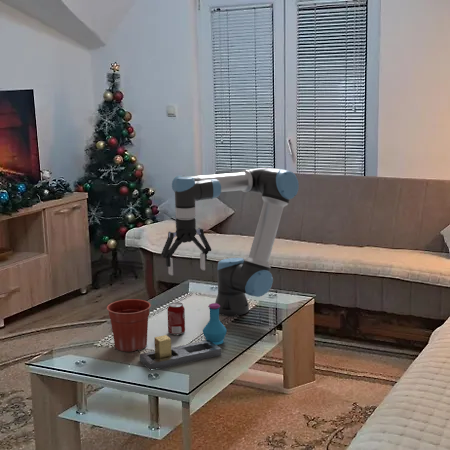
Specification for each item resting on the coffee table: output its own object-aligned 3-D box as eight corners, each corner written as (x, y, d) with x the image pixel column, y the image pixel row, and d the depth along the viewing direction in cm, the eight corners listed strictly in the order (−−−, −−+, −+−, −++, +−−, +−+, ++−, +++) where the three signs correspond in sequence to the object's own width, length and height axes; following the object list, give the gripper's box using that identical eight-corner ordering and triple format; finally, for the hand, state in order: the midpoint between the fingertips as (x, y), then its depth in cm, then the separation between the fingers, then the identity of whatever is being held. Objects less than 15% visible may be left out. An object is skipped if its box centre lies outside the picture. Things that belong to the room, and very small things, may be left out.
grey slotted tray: (209, 346, 268) (209, 339, 267) (221, 355, 259) (221, 348, 258) (140, 360, 255) (139, 354, 254) (150, 370, 246) (150, 363, 246)
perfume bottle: (230, 338, 275) (229, 302, 272) (222, 347, 266) (221, 309, 263) (207, 336, 278) (207, 299, 275) (199, 344, 269) (198, 307, 266)
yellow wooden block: (166, 358, 257) (165, 335, 255) (171, 362, 253) (170, 338, 251) (155, 360, 255) (154, 337, 253) (160, 365, 251) (159, 341, 249)
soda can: (182, 336, 278) (181, 307, 275) (166, 335, 279) (165, 306, 277) (186, 330, 284) (186, 302, 282) (170, 329, 286) (169, 301, 283)
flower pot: (119, 357, 258) (117, 316, 254) (102, 343, 271) (99, 304, 268) (159, 348, 266) (158, 307, 263) (140, 335, 280) (139, 296, 277)
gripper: (210, 212, 276) (211, 265, 280) (151, 219, 264) (153, 274, 269) (219, 216, 269) (220, 269, 274) (158, 223, 258) (160, 279, 262)
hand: (186, 272), depth 271 cm, fingers open, 13 cm apart
